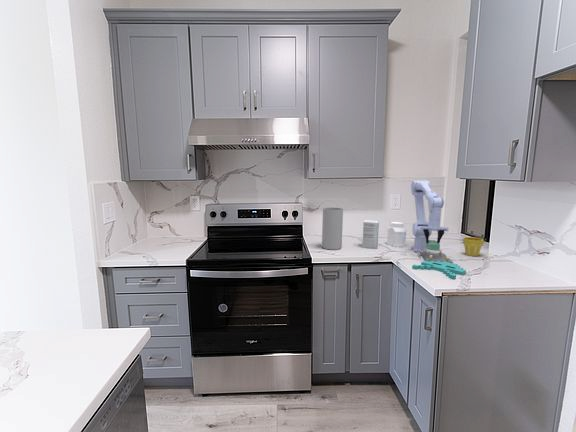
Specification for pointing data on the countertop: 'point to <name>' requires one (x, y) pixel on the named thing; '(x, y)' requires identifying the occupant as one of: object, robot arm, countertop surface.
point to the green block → (433, 245)
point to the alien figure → (441, 268)
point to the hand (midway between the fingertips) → (432, 243)
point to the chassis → (435, 256)
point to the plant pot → (472, 245)
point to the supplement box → (370, 234)
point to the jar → (396, 234)
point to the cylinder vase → (332, 228)
